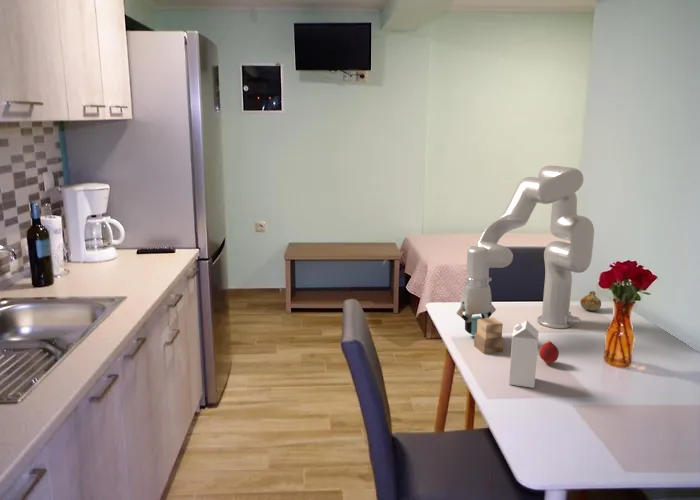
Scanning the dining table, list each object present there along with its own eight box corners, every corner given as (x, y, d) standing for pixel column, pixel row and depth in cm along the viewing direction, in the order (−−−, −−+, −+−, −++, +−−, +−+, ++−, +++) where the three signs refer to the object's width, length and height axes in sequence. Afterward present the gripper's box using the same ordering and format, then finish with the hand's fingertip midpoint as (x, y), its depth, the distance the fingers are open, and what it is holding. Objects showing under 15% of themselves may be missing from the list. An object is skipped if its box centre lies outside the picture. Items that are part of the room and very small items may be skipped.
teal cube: (478, 328, 203) (479, 315, 202) (485, 333, 198) (485, 320, 197) (466, 330, 202) (466, 317, 200) (472, 335, 197) (472, 322, 196)
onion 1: (558, 362, 180) (560, 338, 178) (556, 369, 175) (559, 345, 173) (539, 358, 182) (541, 335, 180) (537, 365, 177) (539, 342, 175)
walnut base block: (492, 344, 194) (493, 330, 193) (502, 352, 188) (503, 338, 187) (474, 346, 192) (474, 332, 191) (483, 354, 186) (484, 340, 185)
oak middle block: (492, 331, 193) (493, 317, 192) (501, 337, 187) (502, 323, 186) (476, 332, 191) (477, 319, 190) (485, 339, 185) (486, 325, 184)
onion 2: (575, 307, 232) (577, 289, 230) (594, 307, 232) (596, 288, 231) (585, 313, 224) (587, 294, 222) (604, 313, 225) (606, 294, 223)
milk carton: (534, 378, 168) (539, 318, 164) (534, 388, 162) (539, 326, 157) (510, 374, 171) (514, 315, 166) (508, 385, 164) (512, 323, 160)
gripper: (493, 276, 201) (492, 324, 205) (450, 281, 197) (449, 330, 201) (504, 282, 194) (502, 332, 198) (459, 287, 190) (458, 337, 194)
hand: (475, 330), depth 200 cm, fingers closed on teal cube, 4 cm apart
